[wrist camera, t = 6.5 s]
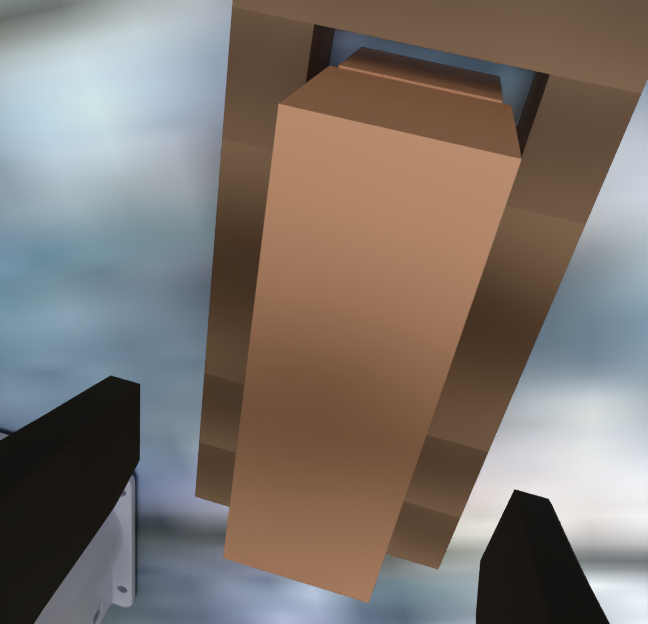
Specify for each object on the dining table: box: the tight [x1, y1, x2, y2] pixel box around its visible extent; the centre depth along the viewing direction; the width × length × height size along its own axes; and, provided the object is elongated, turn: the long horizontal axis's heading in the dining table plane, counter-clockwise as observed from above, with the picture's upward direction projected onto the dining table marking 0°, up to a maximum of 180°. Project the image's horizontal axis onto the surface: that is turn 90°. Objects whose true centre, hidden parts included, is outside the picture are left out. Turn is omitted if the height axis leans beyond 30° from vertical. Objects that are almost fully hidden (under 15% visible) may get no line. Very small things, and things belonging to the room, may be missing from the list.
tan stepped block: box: [223, 47, 522, 603], centre depth 16 cm, size 12×4×7 cm, turn 171°
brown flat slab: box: [195, 0, 648, 569], centre depth 18 cm, size 19×9×2 cm, turn 171°
